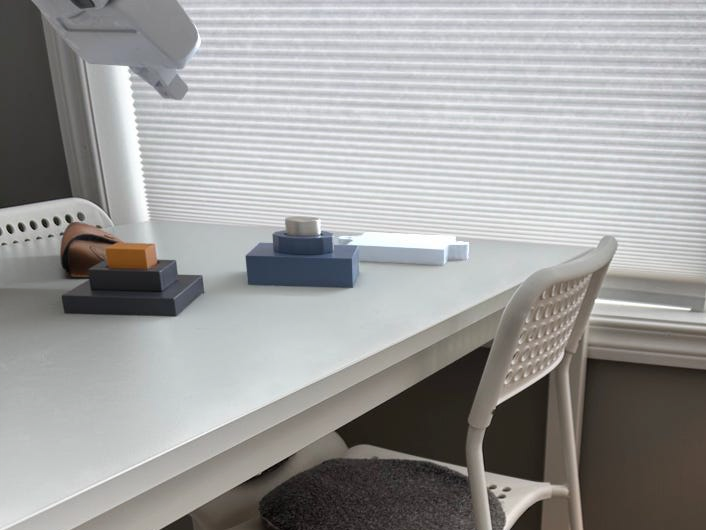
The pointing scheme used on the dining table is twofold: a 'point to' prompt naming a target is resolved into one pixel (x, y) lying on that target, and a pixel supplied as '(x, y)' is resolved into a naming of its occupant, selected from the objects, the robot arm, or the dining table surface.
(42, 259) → the dining table surface
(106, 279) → the key block
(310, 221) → the silver short cylinder
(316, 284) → the key block
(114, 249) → the orange square flat block
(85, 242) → the sunglasses case
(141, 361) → the dining table surface
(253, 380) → the dining table surface
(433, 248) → the mounting plate
